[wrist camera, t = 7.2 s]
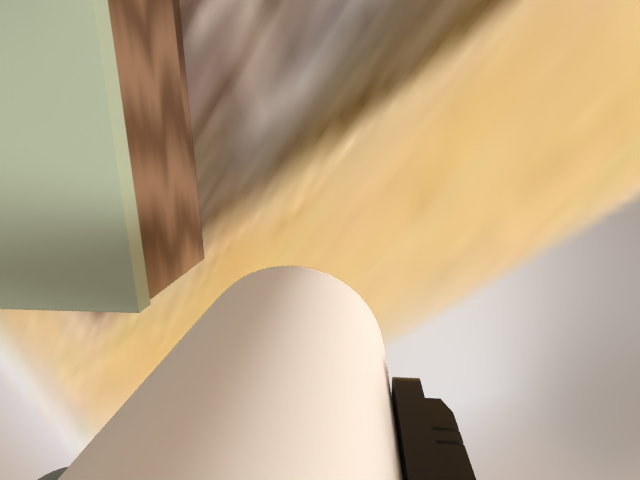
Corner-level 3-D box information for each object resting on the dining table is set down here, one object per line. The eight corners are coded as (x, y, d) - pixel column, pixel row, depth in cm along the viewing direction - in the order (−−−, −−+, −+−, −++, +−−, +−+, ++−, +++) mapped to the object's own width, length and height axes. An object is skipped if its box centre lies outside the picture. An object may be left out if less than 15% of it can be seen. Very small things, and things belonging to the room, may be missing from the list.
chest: (-4, -2, 28) (-164, -65, 19) (177, -13, 27) (91, -86, 18) (49, 256, 33) (-59, 296, 24) (204, 258, 32) (146, 301, 23)
